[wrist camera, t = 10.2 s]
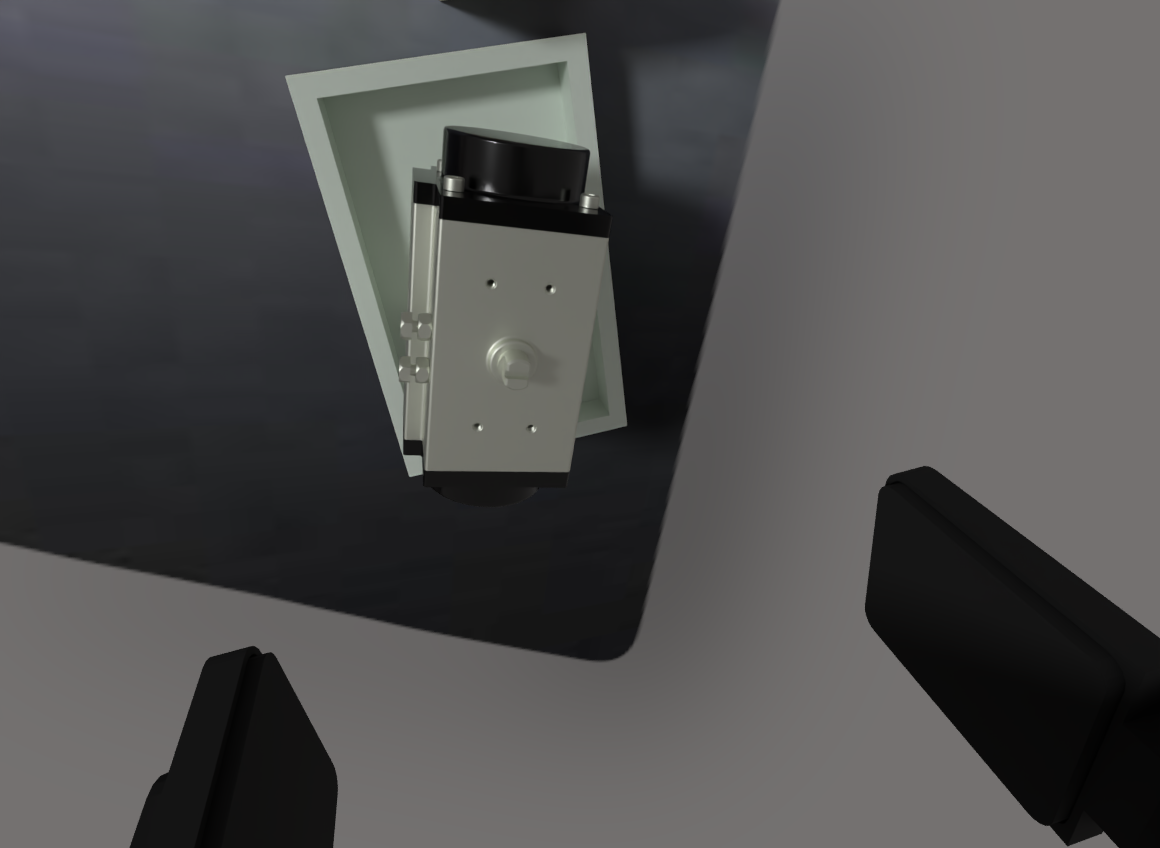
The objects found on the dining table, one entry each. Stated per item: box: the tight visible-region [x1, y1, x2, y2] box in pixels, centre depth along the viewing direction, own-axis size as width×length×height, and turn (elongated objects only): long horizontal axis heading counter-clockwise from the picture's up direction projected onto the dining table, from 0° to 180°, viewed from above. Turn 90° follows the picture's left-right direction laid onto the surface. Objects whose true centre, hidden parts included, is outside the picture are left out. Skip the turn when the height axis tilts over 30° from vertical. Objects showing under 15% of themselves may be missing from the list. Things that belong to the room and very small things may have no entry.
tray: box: [285, 33, 627, 477], centre depth 28 cm, size 17×11×2 cm, turn 8°
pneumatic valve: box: [399, 126, 613, 507], centre depth 23 cm, size 6×12×12 cm, turn 171°
